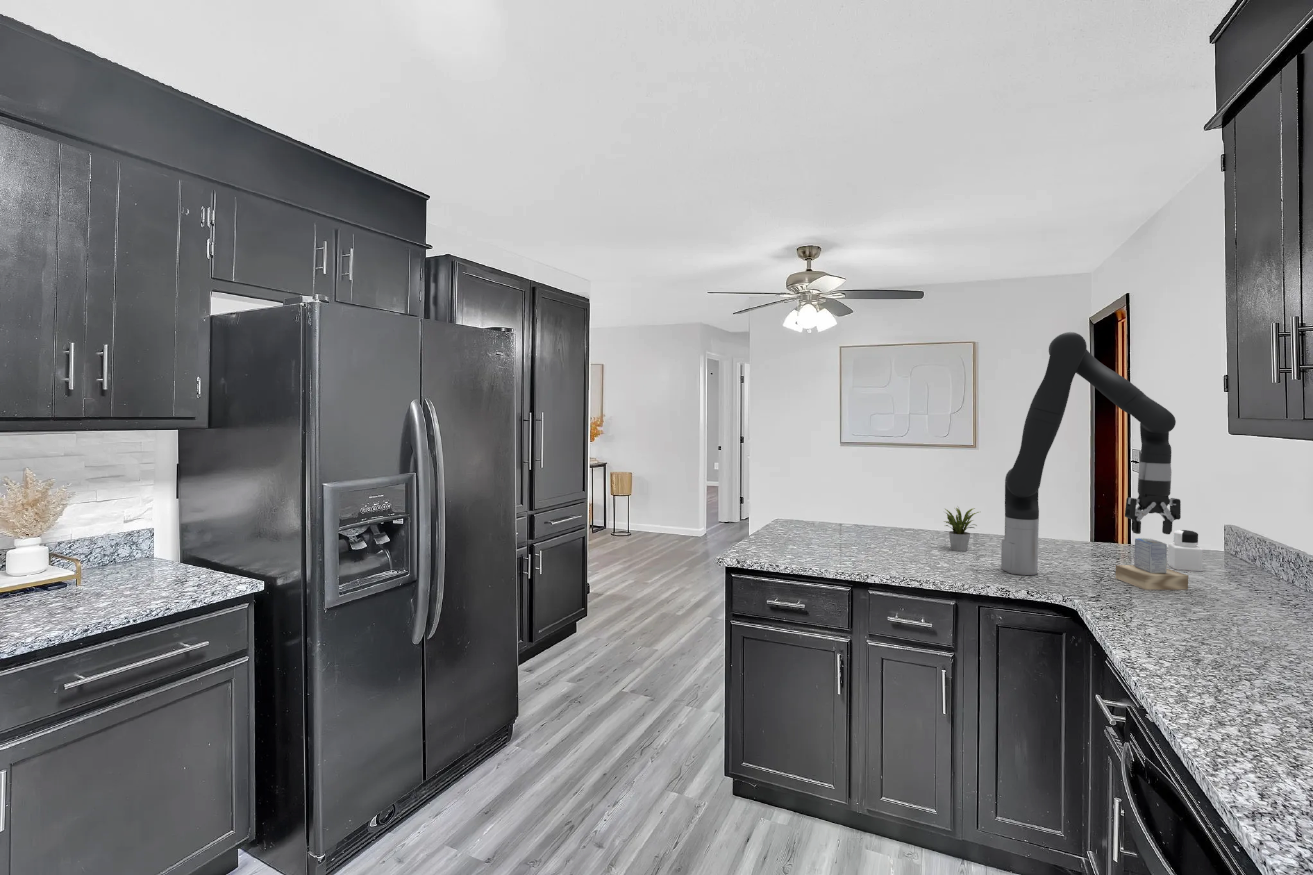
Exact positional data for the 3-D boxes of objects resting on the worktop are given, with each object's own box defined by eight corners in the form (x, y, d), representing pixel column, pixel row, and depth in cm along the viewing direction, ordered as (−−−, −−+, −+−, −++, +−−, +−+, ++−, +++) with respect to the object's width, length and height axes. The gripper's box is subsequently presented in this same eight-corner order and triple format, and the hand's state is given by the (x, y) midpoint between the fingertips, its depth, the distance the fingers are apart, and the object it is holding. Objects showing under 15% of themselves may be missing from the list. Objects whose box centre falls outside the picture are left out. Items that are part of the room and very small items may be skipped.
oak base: (1144, 589, 182) (1145, 575, 182) (1115, 578, 194) (1115, 565, 194) (1187, 589, 182) (1188, 575, 182) (1155, 578, 194) (1156, 565, 194)
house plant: (987, 548, 235) (988, 504, 235) (983, 556, 224) (983, 509, 223) (944, 544, 243) (945, 501, 242) (938, 551, 231) (939, 506, 231)
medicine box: (1167, 573, 184) (1167, 543, 183) (1149, 573, 184) (1150, 543, 184) (1150, 567, 192) (1150, 538, 191) (1133, 566, 192) (1134, 537, 192)
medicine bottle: (1195, 566, 207) (1196, 529, 207) (1202, 571, 201) (1204, 533, 200) (1167, 564, 210) (1168, 528, 210) (1174, 569, 204) (1175, 532, 203)
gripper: (1139, 479, 183) (1136, 536, 184) (1189, 480, 183) (1186, 536, 183) (1120, 476, 190) (1117, 530, 191) (1169, 476, 190) (1166, 531, 191)
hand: (1151, 533), depth 187 cm, fingers open, 8 cm apart
